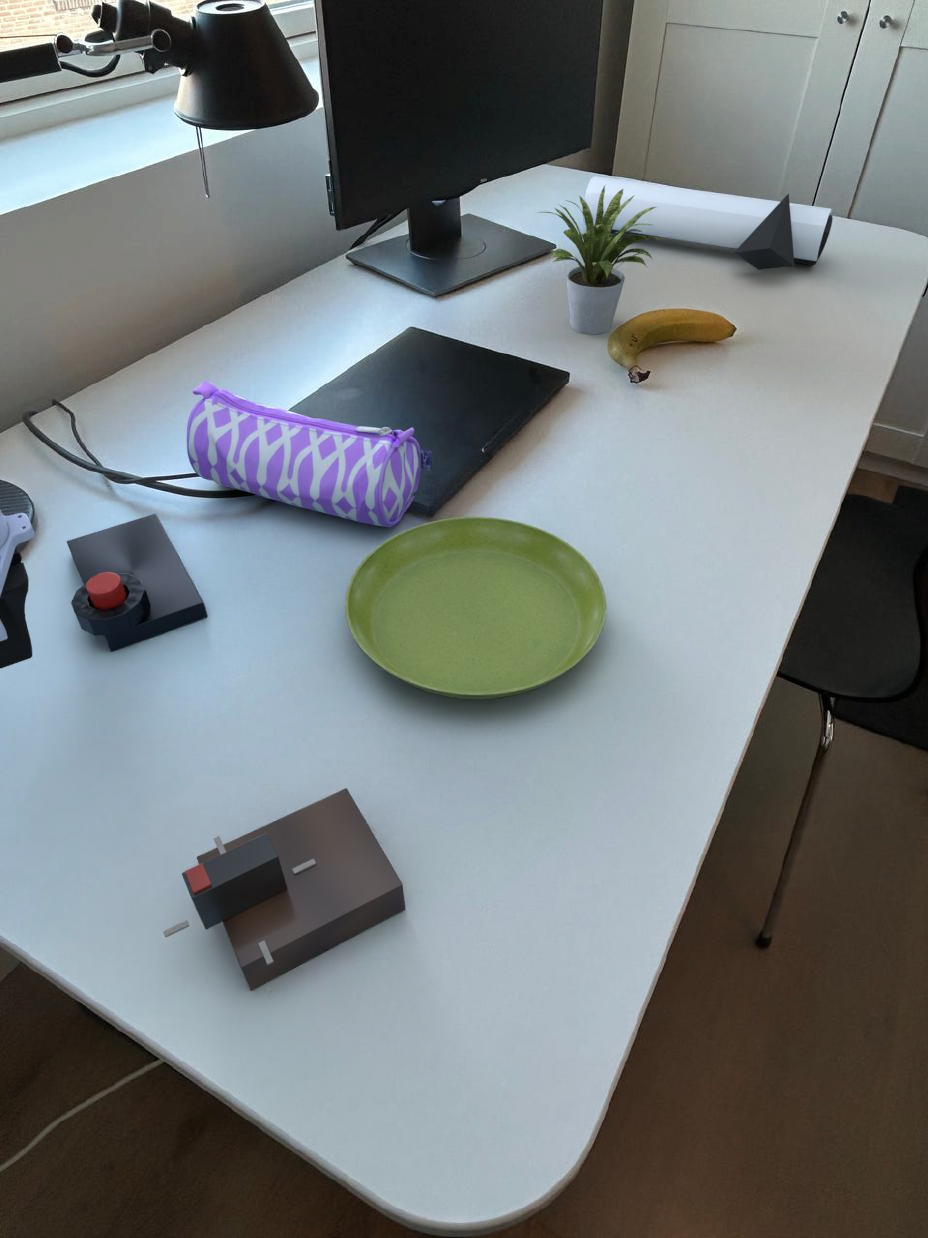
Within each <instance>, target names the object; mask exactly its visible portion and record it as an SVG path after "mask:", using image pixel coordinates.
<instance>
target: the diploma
mask: <svg viewBox="0 0 928 1238" xmlns="http://www.w3.org/2000/svg"><path fill="white" fill-rule="evenodd" d="M604 186H605V193H604V199H603V209H604V213H603V216H604V214H605V212H606V210H607V208H608V206H609V204H610V202H611V200H612V199H613V197H614V196H615V195H616V194H617V193H618V192H619V191H620V190H622V189H623V195H622V197H621V199H620V206H621V205H622V204H623V203H624V202H626V201H627V200H628V199H630V198H631V197H632V196H634V195H635V196H634V197H633V198H632V199H631V201H630V202H629V203H628V204H627V205H626V206H625V207H624V208H623V209H622V211H621V212H620V213H619V215H618V216H617V218H616V220H615V222H614V225H613V227H612V230H611V233H615V232H619V231H620V230H621V228H622V227H623V226H624V225H625V224H626V223H627V222H629V221H630V220H631V219H632V218H633V217H634V216H635V215H637V214H638V213H640V212H641V211H643V210H645V209H648V208H651V207H656V208H654V209H652V210H650V211H648V212H646V213H645V214H643V215H642V216H641V217H640V218H639V219H638V220H637V221H636V222H635V223H634V224H641V223H643V224H651V225H637V226H632V227H630V228H629V229H628V230H627V231H629V230H632V229H637V230H640V231H642V232H637V231H631V232H628V233H626V232H627V231H626V232H625V233H626V234H629V235H645V236H652V237H656V238H660V239H670V240H677V241H684V242H690V243H697V244H701V245H702V244H703V245H710V246H715V247H721V248H727V249H732V250H735V251H734V252H733V254H735V255H736V256H738V257H739V258H740V259H742V260H743V261H745V262H746V263H748V264H749V265H751V266H752V267H753V268H754V269H757V270H758V271H759V270H769V269H777V268H779V269H781V268H788V267H795V263H798V264H803V265H807V266H812V267H814V266H815V265H816V264H817V262H818V261H819V259H820V257H821V256H822V254H823V251H824V249H825V247H826V244H827V242H828V239H829V236H830V232H831V228H832V224H833V219H834V218H833V214H832V210H833V208H829V207H821V206H816V205H807V204H801V203H800V204H799V203H792V202H790V194H789V192H788V193H787V195H785V196H784V197H783V199H782V200H781V201H779V200H771V199H763V198H758V197H757V198H756V197H749V196H741V195H735V194H727V193H721V192H713V191H705V190H698V189H691V188H684V187H676V186H669V185H662V184H654V183H649V182H641V181H633V180H627V179H626V180H625V179H618V178H612V177H611V178H610V177H605V176H604V177H603V176H597V175H593V176H592V177H591V178H590V180H589V182H588V183H587V187H586V191H585V194H584V198H583V200H584V201H585V202H586V203H587V205H588V207H589V209H590V212H591V214H592V217H593V224H594V225H595V221H596V215H597V208H598V202H599V198H600V194H601V192H602V189H603V187H604ZM582 220H583V224H584V225H585V226H586V223H585V219H584V216H583V215H582ZM634 224H633V225H634ZM625 233H624V234H625ZM626 234H625V235H626Z"/></svg>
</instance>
